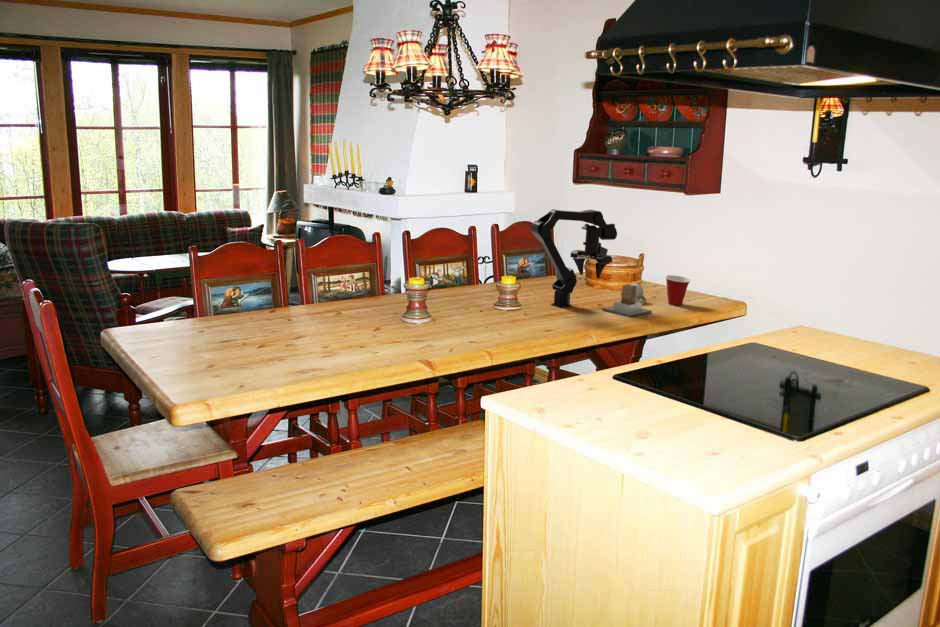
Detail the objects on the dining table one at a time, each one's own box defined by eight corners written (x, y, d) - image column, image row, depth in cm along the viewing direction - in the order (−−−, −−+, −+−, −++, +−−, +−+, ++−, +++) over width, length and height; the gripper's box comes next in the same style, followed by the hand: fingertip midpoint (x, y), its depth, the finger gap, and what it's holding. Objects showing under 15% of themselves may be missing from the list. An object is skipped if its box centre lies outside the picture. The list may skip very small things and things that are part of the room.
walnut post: (628, 311, 315) (630, 287, 313) (620, 309, 318) (622, 285, 316) (634, 309, 318) (636, 286, 316) (626, 307, 321) (628, 284, 318)
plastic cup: (683, 308, 328) (686, 280, 325) (659, 304, 334) (661, 277, 331) (691, 304, 337) (694, 277, 334) (667, 300, 343) (670, 274, 340)
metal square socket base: (630, 317, 309) (631, 307, 308) (603, 310, 319) (603, 301, 318) (651, 313, 318) (652, 303, 317) (624, 306, 328) (625, 297, 327)
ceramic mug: (618, 301, 337) (620, 284, 335) (627, 298, 344) (628, 281, 342) (641, 305, 331) (643, 288, 329) (649, 302, 338) (651, 285, 336)
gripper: (621, 241, 322) (618, 278, 326) (588, 236, 336) (585, 271, 339) (604, 243, 315) (601, 281, 319) (570, 237, 329) (568, 273, 332)
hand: (589, 276), depth 327 cm, fingers open, 9 cm apart
